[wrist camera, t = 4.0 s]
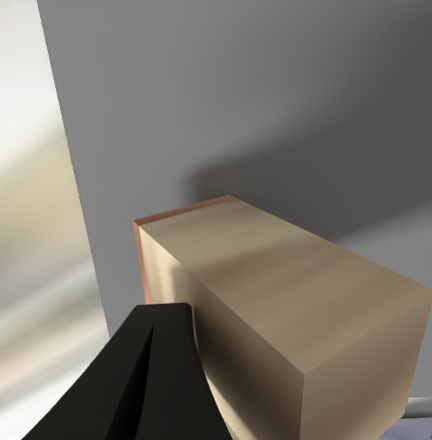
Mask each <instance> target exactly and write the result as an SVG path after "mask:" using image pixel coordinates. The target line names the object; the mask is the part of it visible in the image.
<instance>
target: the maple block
mask: <svg viewBox="0 0 432 440" xmlns="http://www.w3.org/2000/svg"><path fill="white" fill-rule="evenodd" d="M133 226H134V232H135V238H136V245H137V251H138V258H139V264H140V271H141V277H142V284H143V290H144V296H145V303H146V304H163V303H182V302H187V303H188V304H189V305H191V307H192V317H193V327H194V338H195V343H196V347H197V350H198V354H199V357H200V360H201V363H202V366H203V369H204V372H205V375H206V378H207V381H208V383H209V386H210V389H211V391H212V394H213V396H214V399H215V401H216V404H217V406H218V408H219V411H220V413H221V415H222V416H223V417H224V419H225V420H226V421H227V423H228V424H229V425H230V427H231V428H232V429H233V431H234V432H235V434H236V435H237V436H238V438H239V439H240V440H376V439H377V438H379V437H380V436H381V435H382V434H383V433H384V432H385V431H387V430H388V429H389V428H390V427H391V426H392V425H393V424H394V423H396V422H397V421H398V420H399V419H400V418H401V417H402V416H403V415H404V413H405V409H406V405H407V401H408V397H409V393H410V389H411V385H412V381H413V377H414V373H415V369H416V365H417V361H418V357H419V353H420V349H421V345H422V341H423V337H424V333H425V328H426V324H427V320H428V316H429V312H430V308H431V304H432V289H430V288H428V287H426V286H424V285H422V284H420V283H417V282H415V281H413V280H411V279H409V278H407V277H405V276H402V275H400V274H398V273H396V272H394V271H392V270H390V269H387V268H385V267H383V266H381V265H379V264H377V263H375V262H372V261H370V260H368V259H366V258H364V257H362V256H360V255H357V254H355V253H353V252H351V251H349V250H347V249H345V248H342V247H340V246H338V245H336V244H334V243H332V242H330V241H327V240H325V239H323V238H321V237H319V236H317V235H315V234H312V233H310V232H308V231H306V230H304V229H302V228H300V227H297V226H295V225H293V224H291V223H289V222H287V221H285V220H282V219H280V218H278V217H276V216H274V215H272V214H270V213H267V212H265V211H263V210H261V209H259V208H257V207H255V206H252V205H250V204H248V203H246V202H244V201H242V200H240V199H238V198H235V197H233V196H231V195H225V196H221V197H218V198H214V199H210V200H207V201H203V202H199V203H195V204H192V205H188V206H184V207H181V208H177V209H173V210H170V211H166V212H162V213H158V214H155V215H151V216H147V217H144V218H140V219H136V220H133Z"/></svg>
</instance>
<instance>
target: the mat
mask: <svg viewBox="0 0 432 440" xmlns="http://www.w3.org/2000/svg"><path fill="white" fill-rule="evenodd" d="M37 3H38V8H39V13H40V17H41V22H42V26H43V31H44V36H45V40H46V45H47V50H48V54H49V59H50V63H51V68H52V73H53V77H54V82H55V87H56V91H57V96H58V100H59V105H60V110H61V114H62V119H63V124H64V128H65V133H66V137H67V142H68V147H69V151H70V156H71V161H72V165H73V170H74V174H75V179H76V184H77V188H78V193H79V198H80V202H81V207H82V211H83V216H84V221H85V225H86V230H87V235H88V239H89V244H90V248H91V253H92V258H93V262H94V267H95V271H96V276H97V281H98V285H99V290H100V295H101V299H102V304H103V308H104V313H105V318H106V322H107V327H108V332H109V336H110V339H111V338H112V336H113V335H114V334H115V332H116V331H117V330H118V328H119V327H120V326H121V324H122V323H123V322H124V320H125V319H126V318H127V316H128V315H129V314H130V312H131V311H132V310H133V308H134V307H135V306H136V305H144V304H146V303H145V296H144V290H143V284H142V277H141V271H140V264H139V258H138V251H137V245H136V238H135V232H134V226H133V220H136V219H140V218H144V217H147V216H151V215H155V214H158V213H162V212H166V211H170V210H173V209H177V208H181V207H184V206H188V205H192V204H195V203H199V202H203V201H207V200H210V199H214V198H218V197H221V196H225V195H231V196H233V197H235V198H238V199H240V200H242V201H244V202H246V203H248V204H250V205H252V206H255V207H257V208H259V209H261V210H263V211H265V212H267V213H270V214H272V215H274V216H276V217H278V218H280V219H282V220H285V221H287V222H289V223H291V224H293V225H295V226H297V227H300V228H302V229H304V230H306V231H308V232H310V233H312V234H315V235H317V236H319V237H321V238H323V239H325V240H327V241H330V242H332V243H334V244H336V245H338V246H340V247H342V248H345V249H347V250H349V251H351V252H353V253H355V254H357V255H360V256H362V257H364V258H366V259H368V260H370V261H372V262H375V263H377V264H379V265H381V266H383V267H385V268H387V269H390V270H392V271H394V272H396V273H398V274H400V275H402V276H405V277H407V278H409V279H411V280H413V281H415V282H417V283H420V284H422V285H424V286H426V287H428V288H430V289H432V0H37ZM428 396H432V304H431V308H430V312H429V316H428V320H427V324H426V328H425V333H424V337H423V341H422V345H421V349H420V353H419V357H418V361H417V365H416V369H415V373H414V377H413V381H412V385H411V389H410V393H409V397H428Z"/></svg>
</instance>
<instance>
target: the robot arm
mask: <svg viewBox="0 0 432 440" xmlns="http://www.w3.org/2000/svg"><path fill="white" fill-rule="evenodd" d="M21 440H233V439H232V437H231V435H230V433H229V431H228V429H227V426H226V424H225V422H224V420H223V418H222V415H221V413H220V411H219V408H218V406H217V404H216V401H215V399H214V396H213V394H212V391H211V389H210V386H209V383H208V381H207V378H206V375H205V372H204V369H203V366H202V363H201V360H200V357H199V354H198V350H197V347H196V343H195V338H194V327H193V317H192V307H191V305H189V304H188V303H187V302H182V303H163V304H144V305H136V306H135V307H134V308H133V310H132V311H131V312H130V314H129V315H128V316H127V318H126V319H125V320H124V322H123V323H122V324H121V326H120V327H119V328H118V330H117V331H116V332H115V334H114V335H113V336H112V338H111V339H110V340H109V341H108V343H107V344H106V345H105V347H104V348H103V349H102V350H101V352H100V353H99V354H98V355H97V356H96V358H95V359H94V360H93V361H92V363H91V364H90V365H89V366H88V367H87V369H86V370H85V371H84V372H83V374H82V375H81V376H80V377H79V378H78V379H77V380H76V382H75V383H74V384H73V385H72V386H71V387H70V388H69V389H68V391H67V392H66V393H65V394H64V395H63V396H62V397H61V398H60V400H59V401H58V402H57V403H56V404H55V405H54V406H53V407H52V408H51V410H50V411H49V412H48V413H47V414H46V415H45V416H44V417H43V418H42V419H41V420H40V421H39V422H38V423H37V424H36V425H35V426H34V427H33V428H32V429H31V430H30V431H29V432H28V433H27V434H26V435H25V436H24V437H23V438H22V439H21ZM376 440H432V417H427V418H407V419H399V420H398V421H397V422H396V423H394V424H393V425H392V426H391V427H390V428H389V429H388V430H387V431H385V432H384V433H383V434H382V435H381V436H380V437H379V438H377V439H376Z"/></svg>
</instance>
